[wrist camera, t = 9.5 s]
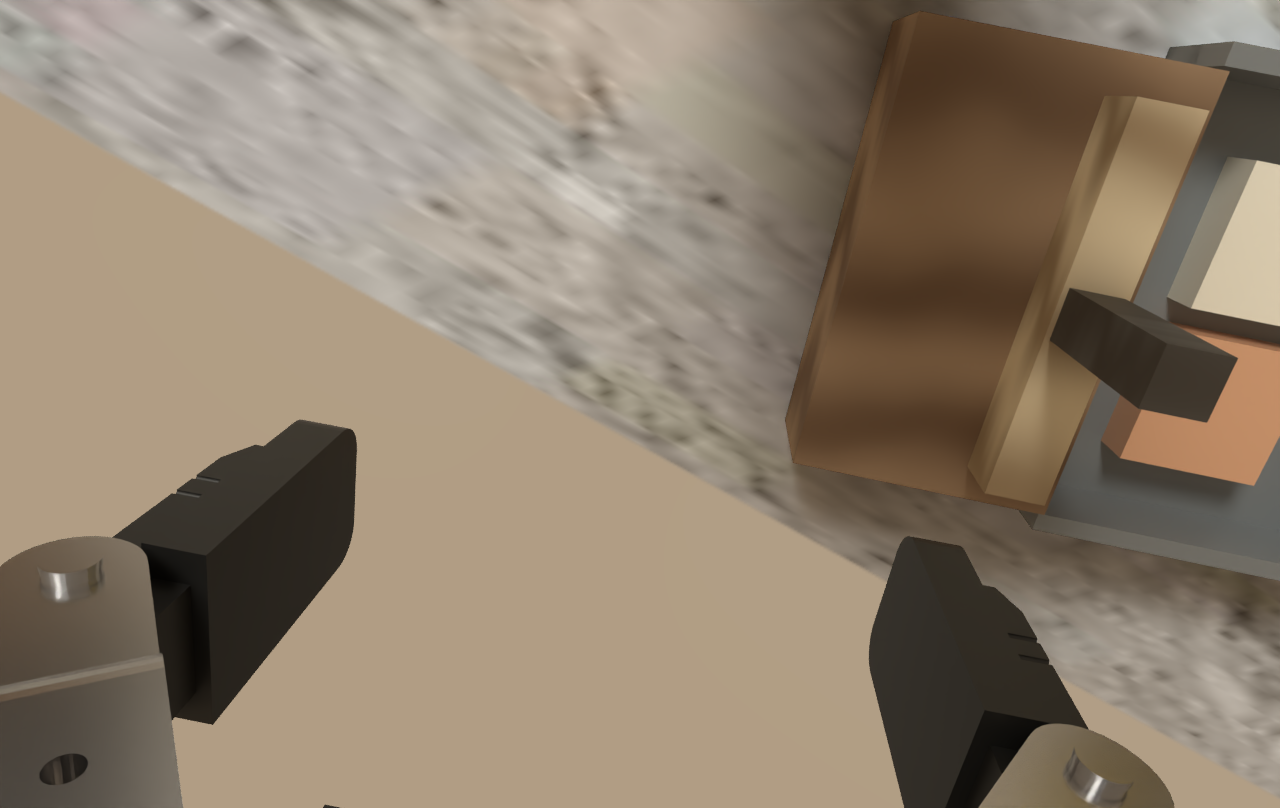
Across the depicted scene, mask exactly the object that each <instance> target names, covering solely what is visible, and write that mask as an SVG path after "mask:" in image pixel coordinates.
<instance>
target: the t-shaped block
mask: <svg viewBox="0 0 1280 808" xmlns="http://www.w3.org/2000/svg"><path fill="white" fill-rule="evenodd" d="M1208 113H1209V111H1208V110H1203V109H1198V108H1193V107H1188V106H1183V105H1178V104H1173V103H1168V102H1163V101H1158V100H1153V99H1148V98H1143V97H1138V96H1105V97H1104V99H1103V102H1102V105H1101V107H1100V110H1099V113H1098V115H1097V118H1096V121H1095V123H1094V126H1093V129H1092V132H1091V134H1090V137H1089V140H1088V142H1087V145H1086V148H1085V150H1084V153H1083V156H1082V159H1081V161H1080V164H1079V167H1078V169H1077V172H1076V175H1075V177H1074V180H1073V183H1072V186H1071V188H1070V191H1069V194H1068V196H1067V199H1066V202H1065V204H1064V207H1063V210H1062V213H1061V215H1060V218H1059V221H1058V223H1057V226H1056V229H1055V231H1054V234H1053V237H1052V239H1051V242H1050V245H1049V248H1048V250H1047V253H1046V256H1045V258H1044V261H1043V264H1042V266H1041V269H1040V272H1039V275H1038V277H1037V280H1036V283H1035V285H1034V288H1033V291H1032V293H1031V296H1030V299H1029V302H1028V304H1027V307H1026V310H1025V312H1024V315H1023V318H1022V320H1021V323H1020V326H1019V328H1018V331H1017V334H1016V337H1015V339H1014V342H1013V345H1012V347H1011V350H1010V353H1009V355H1008V358H1007V361H1006V364H1005V366H1004V369H1003V372H1002V374H1001V377H1000V380H999V382H998V385H997V388H996V391H995V393H994V396H993V399H992V401H991V404H990V407H989V409H988V412H987V415H986V418H985V420H984V423H983V426H982V428H981V431H980V434H979V436H978V439H977V442H976V444H975V447H974V450H973V453H972V455H971V458H970V461H969V463H968V466H967V467H968V468H969V470H970V471H971V473H972V474H973V476H974V478H975V479H976V481H977V482H978V484H979V485H980V487H981V488H982V490H983V491H984V493H986V494H991V495H995V496H1000V497H1005V498H1010V499H1014V500H1019V501H1024V502H1029V503H1034V504H1038V505H1043V506H1045V504H1046V501H1047V499H1048V496H1049V494H1050V492H1051V489H1052V487H1053V484H1054V482H1055V480H1056V477H1057V475H1058V472H1059V470H1060V468H1061V465H1062V463H1063V460H1064V458H1065V456H1066V453H1067V451H1068V448H1069V446H1070V444H1071V441H1072V439H1073V436H1074V434H1075V432H1076V429H1077V427H1078V425H1079V422H1080V420H1081V417H1082V415H1083V413H1084V410H1085V408H1086V405H1087V403H1088V401H1089V398H1090V396H1091V393H1092V391H1093V389H1094V386H1095V384H1096V381H1097V379H1098V378H1099V379H1100V380H1102V381H1103V382H1104V383H1106V384H1107V385H1108V386H1110V387H1111V388H1112V389H1113V390H1115V391H1116V392H1117V393H1119V394H1120V395H1121V396H1122V397H1124V398H1125V399H1126V400H1128V401H1129V402H1130V403H1132V404H1133V405H1134V406H1135V407H1137V408H1138V409H1142V410H1147V411H1152V412H1157V413H1161V414H1166V415H1171V416H1176V417H1181V418H1186V419H1190V420H1195V421H1200V422H1205V423H1207V422H1208V420H1209V418H1210V416H1211V414H1212V412H1213V410H1214V408H1215V406H1216V404H1217V401H1218V399H1219V397H1220V395H1221V393H1222V391H1223V389H1224V387H1225V385H1226V383H1227V381H1228V379H1229V376H1230V374H1231V372H1232V370H1233V368H1234V366H1235V364H1236V362H1237V360H1238V358H1237V357H1235V356H1233V355H1231V354H1229V353H1227V352H1225V351H1224V350H1222V349H1220V348H1218V347H1216V346H1214V345H1212V344H1210V343H1208V342H1206V341H1204V340H1203V339H1201V338H1199V337H1197V336H1195V335H1193V334H1191V333H1189V332H1187V331H1185V330H1183V329H1182V328H1180V327H1178V326H1176V325H1174V324H1172V323H1170V322H1168V321H1166V320H1164V319H1162V318H1161V317H1159V316H1157V315H1155V314H1153V313H1151V312H1149V311H1147V310H1145V309H1143V308H1141V307H1140V306H1138V305H1136V304H1134V303H1132V302H1130V300H1131V298H1132V295H1133V293H1134V290H1135V288H1136V286H1137V283H1138V281H1139V279H1140V276H1141V274H1142V271H1143V269H1144V267H1145V264H1146V262H1147V259H1148V257H1149V255H1150V252H1151V250H1152V247H1153V245H1154V243H1155V240H1156V238H1157V235H1158V233H1159V231H1160V228H1161V226H1162V223H1163V221H1164V219H1165V216H1166V214H1167V211H1168V209H1169V207H1170V204H1171V202H1172V200H1173V197H1174V195H1175V192H1176V190H1177V188H1178V185H1179V183H1180V180H1181V178H1182V176H1183V173H1184V171H1185V168H1186V166H1187V164H1188V161H1189V159H1190V156H1191V154H1192V152H1193V149H1194V147H1195V144H1196V142H1197V140H1198V137H1199V135H1200V132H1201V130H1202V128H1203V125H1204V123H1205V121H1206V118H1207V116H1208Z"/></svg>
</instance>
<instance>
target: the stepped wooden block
mask: <svg viewBox="0 0 1280 808" xmlns="http://www.w3.org/2000/svg"><path fill="white" fill-rule="evenodd" d="M1229 72H1230V71H1225V70H1220V69H1215V68H1210V67H1205V66H1200V65H1195V64H1189V63H1184V62H1179V61H1174V60H1169V59H1164V58H1159V57H1153V56H1148V55H1143V54H1138V53H1133V52H1128V51H1123V50H1118V49H1112V48H1107V47H1102V46H1097V45H1092V44H1087V43H1082V42H1077V41H1071V40H1066V39H1061V38H1056V37H1051V36H1046V35H1041V34H1036V33H1030V32H1025V31H1020V30H1015V29H1010V28H1005V27H1000V26H995V25H989V24H984V23H979V22H974V21H969V20H964V19H959V18H954V17H948V16H943V15H938V14H933V13H928V12H923V11H919V12H916V13H914V14H911V15H908V16H906V17H903V18H901V19H898V20H896V21H893V23H892V27H891V31H890V34H889V38H888V42H887V46H886V49H885V53H884V57H883V60H882V64H881V68H880V71H879V75H878V79H877V82H876V86H875V90H874V94H873V97H872V101H871V105H870V108H869V112H868V116H867V119H866V123H865V127H864V130H863V134H862V138H861V141H860V145H859V149H858V153H857V156H856V160H855V164H854V167H853V171H852V175H851V178H850V182H849V186H848V189H847V193H846V197H845V201H844V204H843V208H842V212H841V215H840V219H839V223H838V226H837V230H836V234H835V237H834V241H833V245H832V249H831V252H830V256H829V260H828V263H827V267H826V271H825V274H824V278H823V282H822V285H821V289H820V293H819V296H818V300H817V304H816V308H815V311H814V315H813V319H812V322H811V326H810V330H809V333H808V337H807V341H806V344H805V348H804V352H803V356H802V359H801V363H800V367H799V370H798V374H797V378H796V381H795V385H794V389H793V392H792V396H791V400H790V404H789V407H788V411H787V415H786V418H785V422H786V427H787V433H788V438H789V444H790V449H791V454H792V460H793V463H796V464H801V465H806V466H811V467H816V468H820V469H825V470H830V471H835V472H840V473H844V474H849V475H854V476H859V477H864V478H868V479H873V480H878V481H883V482H888V483H893V484H897V485H902V486H907V487H912V488H917V489H921V490H926V491H931V492H936V493H941V494H945V495H950V496H955V497H960V498H965V499H969V500H974V501H979V502H984V503H989V504H993V505H998V506H1003V507H1008V508H1013V509H1018V510H1022V511H1027V512H1032V513H1037V514H1042V515H1045V513H1046V510H1047V508H1048V505H1049V503H1050V501H1051V498H1052V496H1053V493H1054V491H1055V489H1056V486H1057V484H1058V481H1059V479H1060V477H1061V474H1062V472H1063V470H1064V467H1065V465H1066V462H1067V460H1068V458H1069V455H1070V453H1071V450H1072V448H1073V446H1074V443H1075V441H1076V438H1077V436H1078V434H1079V431H1080V429H1081V426H1082V424H1083V422H1084V419H1085V417H1086V414H1087V412H1088V410H1089V407H1090V405H1091V402H1092V400H1093V398H1094V395H1095V393H1096V391H1097V388H1098V386H1099V383H1100V381H1101V380H1100V379H1099V378H1098V379H1097V381H1096V384H1095V386H1094V389H1093V391H1092V393H1091V396H1090V398H1089V401H1088V403H1087V405H1086V408H1085V410H1084V413H1083V415H1082V417H1081V420H1080V422H1079V425H1078V427H1077V429H1076V432H1075V434H1074V436H1073V439H1072V441H1071V444H1070V446H1069V448H1068V451H1067V453H1066V456H1065V458H1064V460H1063V463H1062V465H1061V468H1060V470H1059V472H1058V475H1057V477H1056V480H1055V482H1054V484H1053V487H1052V489H1051V492H1050V494H1049V496H1048V499H1047V501H1046V504H1045V506H1043V505H1038V504H1034V503H1029V502H1024V501H1019V500H1014V499H1010V498H1005V497H1000V496H995V495H991V494H986V493H984V491H983V490H982V488H981V487H980V485H979V484H978V482H977V481H976V479H975V478H974V476H973V474H972V473H971V471H970V470H969V468H968V467H967V466H968V463H969V461H970V458H971V455H972V453H973V450H974V447H975V444H976V442H977V439H978V436H979V434H980V431H981V428H982V426H983V423H984V420H985V418H986V415H987V412H988V409H989V407H990V404H991V401H992V399H993V396H994V393H995V391H996V388H997V385H998V382H999V380H1000V377H1001V374H1002V372H1003V369H1004V366H1005V364H1006V361H1007V358H1008V355H1009V353H1010V350H1011V347H1012V345H1013V342H1014V339H1015V337H1016V334H1017V331H1018V328H1019V326H1020V323H1021V320H1022V318H1023V315H1024V312H1025V310H1026V307H1027V304H1028V302H1029V299H1030V296H1031V293H1032V291H1033V288H1034V285H1035V283H1036V280H1037V277H1038V275H1039V272H1040V269H1041V266H1042V264H1043V261H1044V258H1045V256H1046V253H1047V250H1048V248H1049V245H1050V242H1051V239H1052V237H1053V234H1054V231H1055V229H1056V226H1057V223H1058V221H1059V218H1060V215H1061V213H1062V210H1063V207H1064V204H1065V202H1066V199H1067V196H1068V194H1069V191H1070V188H1071V186H1072V183H1073V180H1074V177H1075V175H1076V172H1077V169H1078V167H1079V164H1080V161H1081V159H1082V156H1083V153H1084V150H1085V148H1086V145H1087V142H1088V140H1089V137H1090V134H1091V132H1092V129H1093V126H1094V123H1095V121H1096V118H1097V115H1098V113H1099V110H1100V107H1101V105H1102V102H1103V99H1104V97H1105V96H1138V97H1143V98H1148V99H1153V100H1158V101H1163V102H1168V103H1173V104H1178V105H1183V106H1188V107H1193V108H1198V109H1203V110H1208V111H1209V113H1208V116H1207V118H1206V121H1205V123H1204V125H1203V128H1202V130H1201V132H1200V135H1199V137H1198V140H1197V142H1196V144H1195V147H1194V149H1193V152H1192V154H1191V156H1190V159H1189V161H1188V164H1187V166H1186V168H1185V171H1184V173H1183V176H1182V178H1181V180H1180V183H1179V185H1178V188H1177V190H1176V192H1175V195H1174V197H1173V200H1172V202H1171V204H1170V207H1169V209H1168V211H1167V214H1166V216H1165V219H1164V221H1163V223H1162V226H1161V228H1160V231H1159V233H1158V235H1157V238H1156V240H1155V243H1154V245H1153V247H1152V250H1151V252H1150V255H1149V257H1148V259H1147V262H1146V264H1145V267H1144V269H1143V271H1142V274H1141V276H1140V279H1139V281H1138V283H1137V286H1136V288H1135V290H1134V293H1133V295H1132V298H1131V300H1130V302H1132V303H1133V302H1134V300H1135V297H1136V295H1137V292H1138V290H1139V288H1140V285H1141V283H1142V280H1143V278H1144V276H1145V273H1146V271H1147V268H1148V266H1149V264H1150V261H1151V259H1152V256H1153V254H1154V252H1155V249H1156V247H1157V245H1158V242H1159V240H1160V237H1161V235H1162V233H1163V230H1164V228H1165V225H1166V223H1167V221H1168V218H1169V216H1170V213H1171V211H1172V209H1173V206H1174V204H1175V201H1176V199H1177V197H1178V194H1179V192H1180V189H1181V187H1182V185H1183V182H1184V180H1185V178H1186V175H1187V173H1188V170H1189V168H1190V166H1191V163H1192V161H1193V158H1194V156H1195V154H1196V151H1197V149H1198V146H1199V144H1200V142H1201V139H1202V137H1203V134H1204V132H1205V130H1206V127H1207V125H1208V122H1209V120H1210V118H1211V115H1212V113H1213V110H1214V108H1215V106H1216V103H1217V101H1218V99H1219V96H1220V94H1221V91H1222V89H1223V87H1224V84H1225V82H1226V79H1227V77H1228V75H1229Z"/></svg>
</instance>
